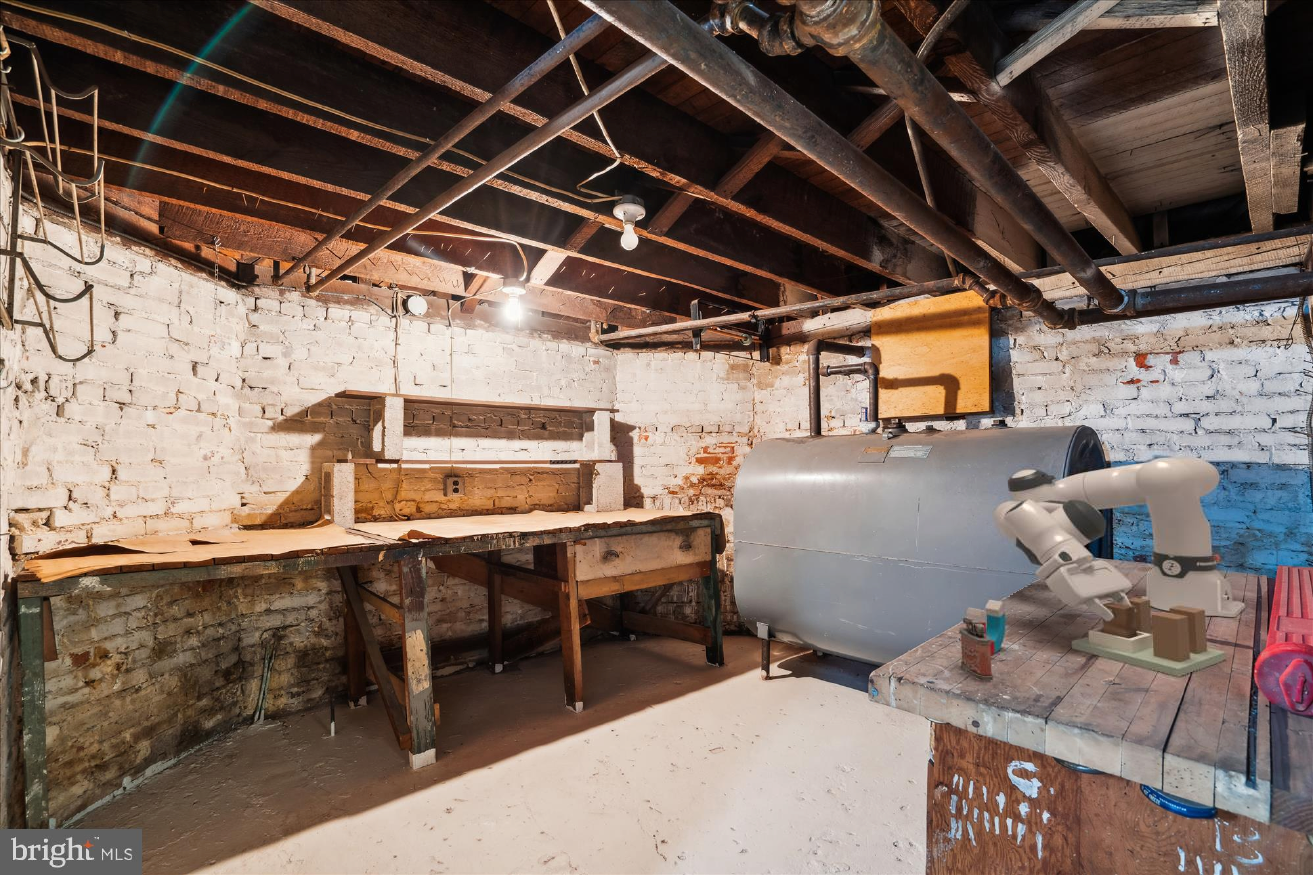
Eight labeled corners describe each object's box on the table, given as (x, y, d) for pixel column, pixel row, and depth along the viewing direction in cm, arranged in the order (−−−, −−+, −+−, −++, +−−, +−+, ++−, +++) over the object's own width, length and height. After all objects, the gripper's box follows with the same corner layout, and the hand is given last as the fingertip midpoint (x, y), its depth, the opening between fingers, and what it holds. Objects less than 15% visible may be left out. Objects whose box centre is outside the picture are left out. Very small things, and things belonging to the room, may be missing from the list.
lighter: (997, 681, 105) (995, 626, 105) (979, 681, 105) (976, 626, 105) (974, 665, 113) (971, 614, 113) (956, 665, 113) (954, 614, 113)
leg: (1114, 640, 120) (1112, 602, 120) (1137, 645, 117) (1135, 606, 117) (1104, 643, 118) (1101, 604, 119) (1126, 649, 115) (1124, 608, 115)
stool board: (1119, 634, 128) (1116, 592, 128) (1225, 659, 112) (1222, 610, 112) (1071, 648, 120) (1069, 603, 121) (1179, 677, 104) (1176, 624, 104)
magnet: (993, 644, 124) (991, 598, 124) (1007, 648, 122) (1005, 600, 122) (967, 657, 117) (964, 608, 117) (981, 661, 115) (978, 610, 115)
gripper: (1085, 564, 133) (1137, 617, 124) (1030, 575, 124) (1082, 632, 115) (1105, 548, 129) (1161, 601, 120) (1051, 557, 120) (1106, 615, 111)
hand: (1122, 616), depth 117 cm, fingers open, 6 cm apart
